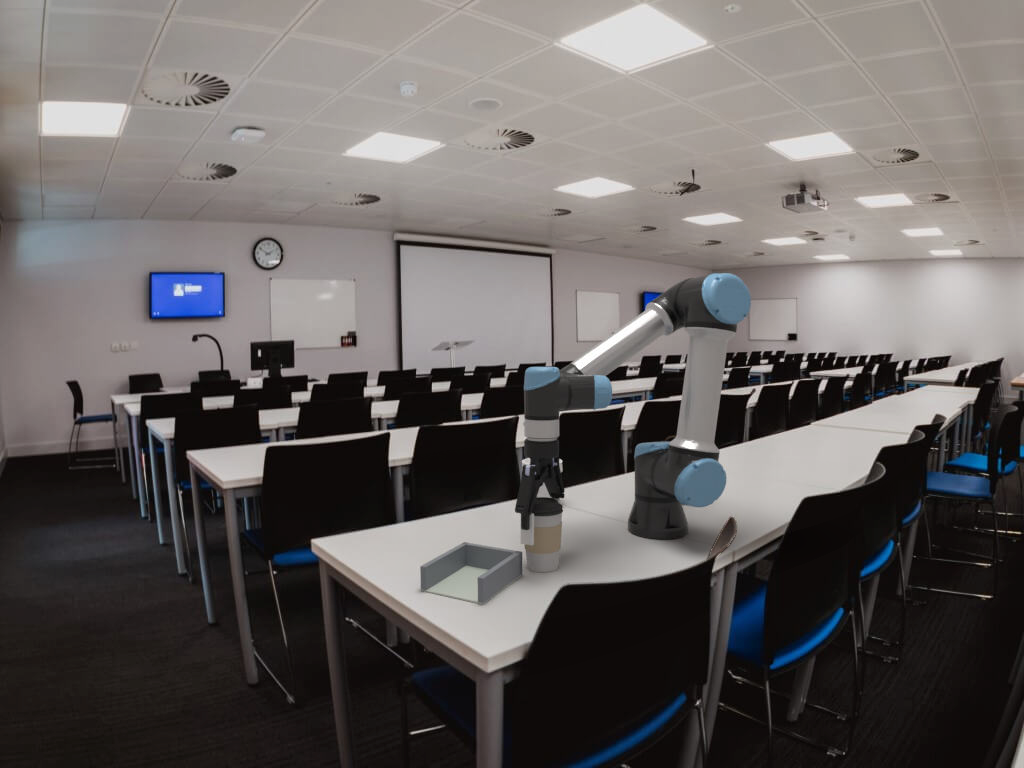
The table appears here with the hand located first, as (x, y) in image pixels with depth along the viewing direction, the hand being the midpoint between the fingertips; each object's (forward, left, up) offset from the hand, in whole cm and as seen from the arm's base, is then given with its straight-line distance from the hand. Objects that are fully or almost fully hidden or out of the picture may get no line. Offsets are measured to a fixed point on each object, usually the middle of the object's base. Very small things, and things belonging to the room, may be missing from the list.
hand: (541, 535), depth 132 cm
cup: (+21, -45, -7) cm, 50 cm away
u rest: (+9, +15, -7) cm, 19 cm away
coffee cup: (0, 0, -7) cm, 7 cm away
